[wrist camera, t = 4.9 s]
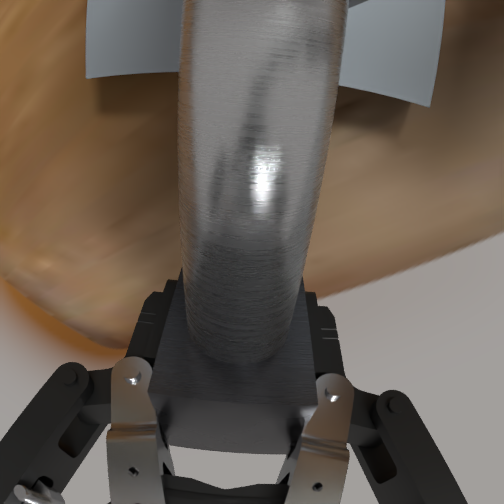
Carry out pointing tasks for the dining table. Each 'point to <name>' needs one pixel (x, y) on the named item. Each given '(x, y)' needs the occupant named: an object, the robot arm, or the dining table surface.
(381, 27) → the bracket
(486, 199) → the dining table surface
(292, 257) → the shaft
